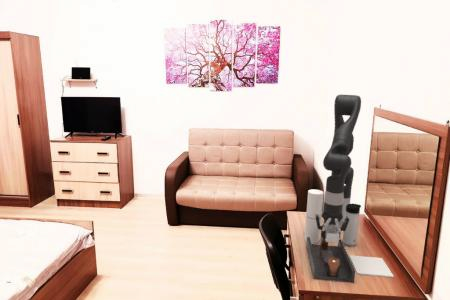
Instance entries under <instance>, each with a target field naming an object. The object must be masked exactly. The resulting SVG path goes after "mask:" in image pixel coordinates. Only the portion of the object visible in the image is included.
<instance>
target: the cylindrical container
mask: <svg viewBox="0 0 450 300" xmlns="http://www.w3.org/2000/svg"><path fill="white" fill-rule="evenodd" d="M324 195H325V192H324V191H323V190H320V189H309V190H308V191H307V202H306V203H307V204H306V212H305V213H306V216H305V227H304V229H305V231H304V241H305V242H307V237H310V241H311V244H319V243H320V240H321V230H319V229H318V227H317V223H316V218H315V215H316V214H318V215H321V214H322V213H323V206H324ZM319 221H320V226H322V219H321V220H319Z"/></svg>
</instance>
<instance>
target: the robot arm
mask: <svg viewBox="0 0 450 300" xmlns="http://www.w3.org/2000/svg"><path fill="white" fill-rule="evenodd" d="M333 107H334V108H333V109H334V113H333V114H334V131H333V138H332V142H331V145H330V147H329V150H328V151H327V153H326V154H325V156H324V158H323V162H322V163H323V167H324V169H325V170H327V171H330V172H331V175H329V176H327V177H326V182H325V183H326V184H325V192H324V195H323V206H322V214H321V215H318V214H316V215H315V218H316V223H317V227H318V229H319V230H320V238H321V237H322V238H323V239H325V229H326V227H327V226H328V225H331V224H333V225H336V228H337V230H338V232H339V239H341V232H343V231H345V230H346V228H347V225H348V222H349V218H348V216H345V212H346V205H347V204H351V198H352V197H351V196H352V189H353V187H352V186H353V181H354V174H355V173H354V172H355V171H354V168H353V167H351V166H352V159H351V157H350V156H349V155H350V154H351V153H352V151H353V149H354V142H355V141H354V140H355V139H354V138H355V137H354V134H353V133H354V129H355V127H356V125H357V121H358V118H359V115H360V112H361V107H362V98H361V96H360V95H357V94H356V95H355V94H338V95H336V97H335V99H334V106H333ZM344 116H347V117H348V119H346V121H345V120H344ZM322 219H323V222H322V223H321V226H320V221H319V220H321V221H322Z"/></svg>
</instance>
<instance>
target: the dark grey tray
mask: <svg viewBox="0 0 450 300" xmlns="http://www.w3.org/2000/svg"><path fill="white" fill-rule="evenodd" d="M305 242H306V241H305ZM305 248H306V252H307V256H308V259H309V260H308V261H309V265H310V269H311V273H312V278H313V280H321V281H333V282H342V283H343V282H344V283H355V277H356V270H355V268H354V266H353V264H352V262H351V259H350V257H349V255H348V252H347V249H346V248H345V245H344V244H343V243H342V240H341V238H340V239H339V243H337V244H336V245H329V242H326V241H325V239H323V238H322V237H321V236H320V240H319V244H318V243H311V241H310V237H307V242H306V246H305Z"/></svg>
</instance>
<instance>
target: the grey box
mask: <svg viewBox="0 0 450 300" xmlns="http://www.w3.org/2000/svg"><path fill="white" fill-rule="evenodd" d="M325 241H326V242H328V243H336V244H338V243H339V232H338V230H337V228H336V225H333V224H331V225H328V226H327V227H326V229H325Z"/></svg>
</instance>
